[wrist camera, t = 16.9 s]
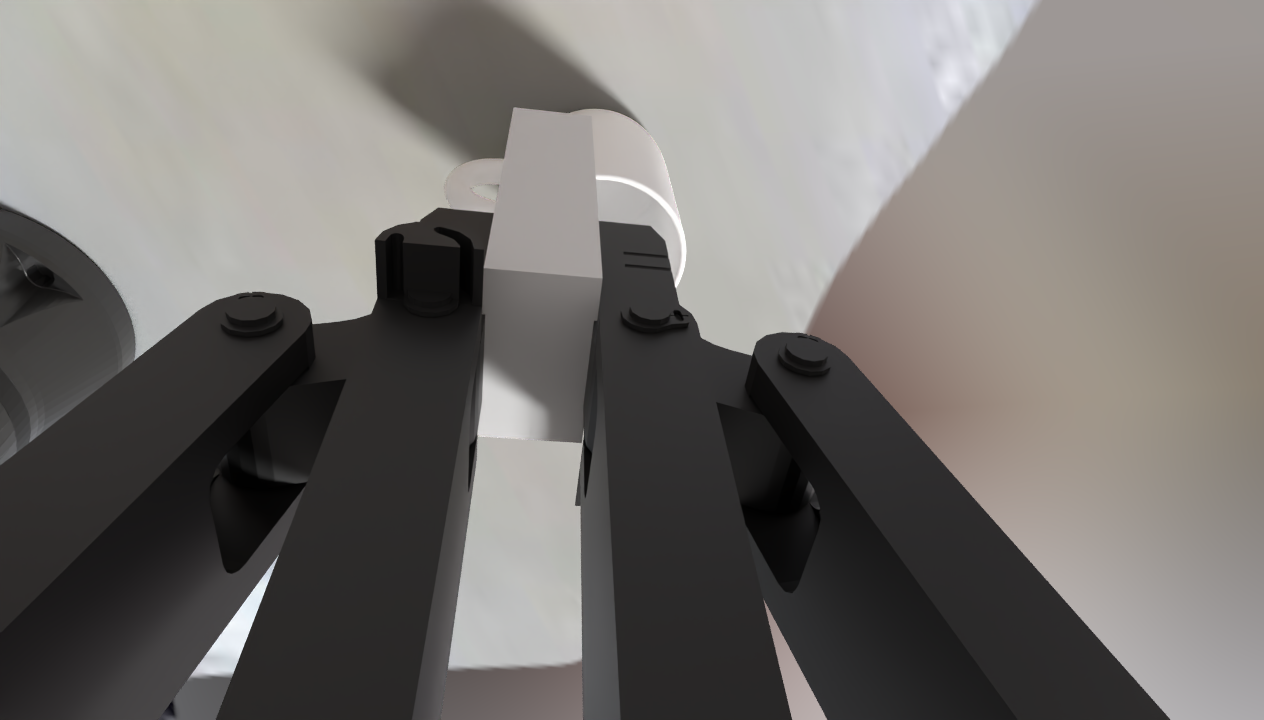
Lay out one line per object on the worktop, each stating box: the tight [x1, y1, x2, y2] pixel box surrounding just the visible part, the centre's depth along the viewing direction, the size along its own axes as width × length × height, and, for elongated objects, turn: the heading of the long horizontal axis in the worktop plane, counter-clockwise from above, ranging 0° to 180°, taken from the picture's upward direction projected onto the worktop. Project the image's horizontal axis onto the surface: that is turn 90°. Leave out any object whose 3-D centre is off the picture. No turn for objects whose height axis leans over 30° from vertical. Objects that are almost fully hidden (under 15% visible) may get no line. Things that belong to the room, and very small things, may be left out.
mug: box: [444, 109, 686, 288], centre depth 43 cm, size 12×8×10 cm
